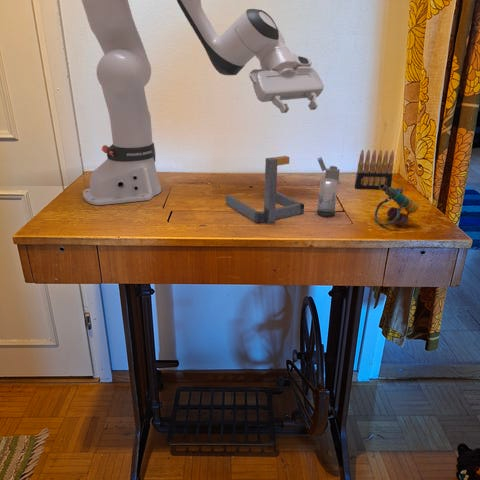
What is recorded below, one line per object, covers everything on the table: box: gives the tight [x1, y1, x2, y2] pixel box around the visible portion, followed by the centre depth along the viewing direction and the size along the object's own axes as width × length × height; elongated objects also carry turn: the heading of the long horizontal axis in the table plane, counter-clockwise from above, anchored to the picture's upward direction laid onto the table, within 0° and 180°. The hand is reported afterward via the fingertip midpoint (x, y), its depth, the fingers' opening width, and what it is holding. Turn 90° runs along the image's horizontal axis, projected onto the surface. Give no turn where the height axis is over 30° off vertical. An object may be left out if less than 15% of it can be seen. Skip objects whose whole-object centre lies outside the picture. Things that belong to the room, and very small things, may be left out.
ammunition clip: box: [354, 149, 395, 191], centre depth 133 cm, size 11×2×12 cm, turn 86°
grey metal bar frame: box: [225, 155, 305, 225], centre depth 114 cm, size 14×18×16 cm
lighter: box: [317, 156, 341, 182], centre depth 139 cm, size 7×2×8 cm, turn 84°
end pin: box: [316, 177, 339, 218], centre depth 113 cm, size 5×5×9 cm
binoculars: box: [374, 184, 420, 227], centre depth 108 cm, size 9×9×10 cm
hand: (300, 109), depth 116 cm, fingers open, 8 cm apart
